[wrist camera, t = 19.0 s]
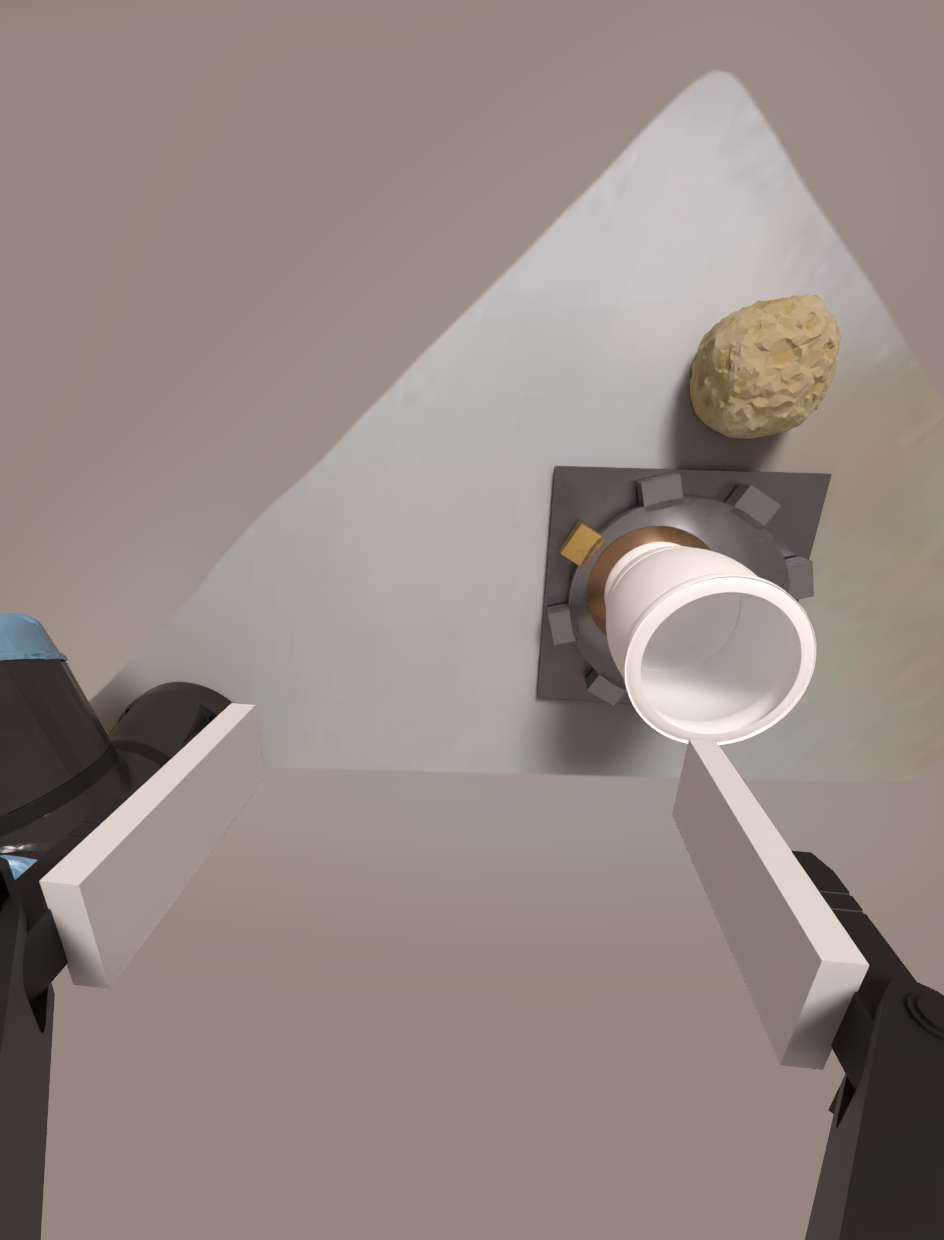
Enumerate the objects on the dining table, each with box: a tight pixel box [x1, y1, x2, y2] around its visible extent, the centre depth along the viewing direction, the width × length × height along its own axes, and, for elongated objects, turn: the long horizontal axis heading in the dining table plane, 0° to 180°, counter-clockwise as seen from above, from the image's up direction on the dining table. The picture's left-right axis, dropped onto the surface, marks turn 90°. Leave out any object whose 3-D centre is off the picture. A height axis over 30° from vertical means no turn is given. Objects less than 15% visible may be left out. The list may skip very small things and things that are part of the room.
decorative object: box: [690, 295, 841, 439], centre depth 36 cm, size 9×10×10 cm
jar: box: [604, 542, 817, 745], centre depth 35 cm, size 11×10×15 cm
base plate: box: [537, 466, 831, 704], centre depth 45 cm, size 22×22×1 cm
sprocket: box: [547, 472, 814, 706], centre depth 41 cm, size 22×22×8 cm
